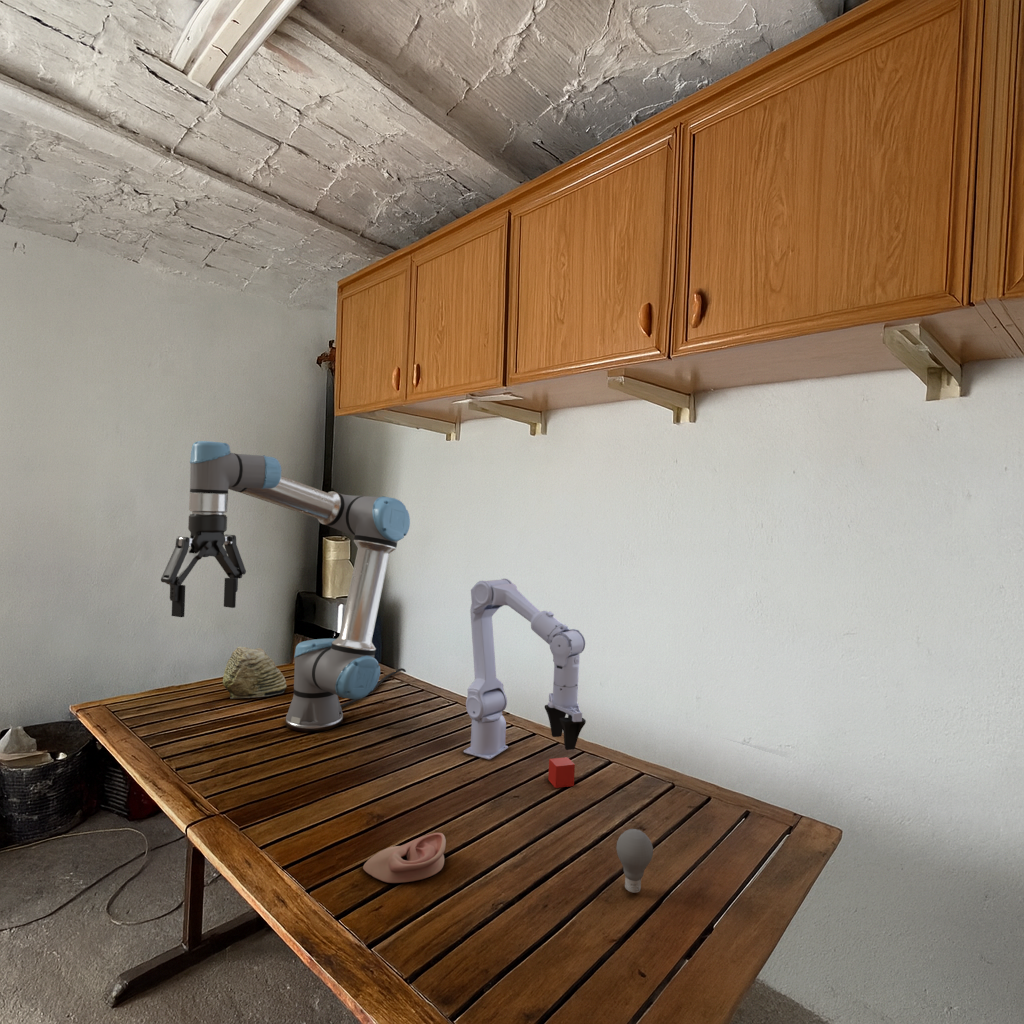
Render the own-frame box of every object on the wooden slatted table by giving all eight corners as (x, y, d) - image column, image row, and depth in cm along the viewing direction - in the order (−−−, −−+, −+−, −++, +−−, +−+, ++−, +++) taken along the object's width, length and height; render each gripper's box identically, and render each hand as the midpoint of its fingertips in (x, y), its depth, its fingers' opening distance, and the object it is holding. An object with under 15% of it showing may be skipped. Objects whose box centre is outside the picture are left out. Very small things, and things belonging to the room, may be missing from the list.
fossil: (218, 695, 195) (220, 647, 195) (278, 685, 208) (279, 640, 207) (228, 703, 189) (230, 653, 188) (289, 692, 201) (290, 645, 201)
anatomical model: (355, 854, 106) (383, 820, 117) (354, 877, 106) (382, 841, 117) (431, 866, 103) (452, 831, 114) (430, 890, 103) (451, 852, 114)
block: (548, 780, 147) (549, 758, 147) (566, 778, 148) (567, 757, 148) (555, 788, 143) (556, 766, 143) (574, 786, 144) (575, 764, 144)
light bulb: (610, 879, 108) (613, 822, 108) (644, 879, 109) (647, 822, 109) (619, 902, 102) (622, 840, 102) (655, 901, 103) (658, 840, 103)
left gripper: (239, 512, 149) (236, 602, 150) (143, 512, 126) (139, 618, 127) (264, 514, 147) (260, 605, 147) (170, 514, 124) (167, 622, 124)
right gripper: (538, 675, 151) (535, 732, 151) (562, 694, 137) (559, 756, 137) (565, 674, 153) (562, 730, 153) (591, 692, 139) (589, 753, 139)
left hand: (204, 611), depth 137 cm, fingers open, 13 cm apart
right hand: (563, 742), depth 145 cm, fingers open, 7 cm apart
